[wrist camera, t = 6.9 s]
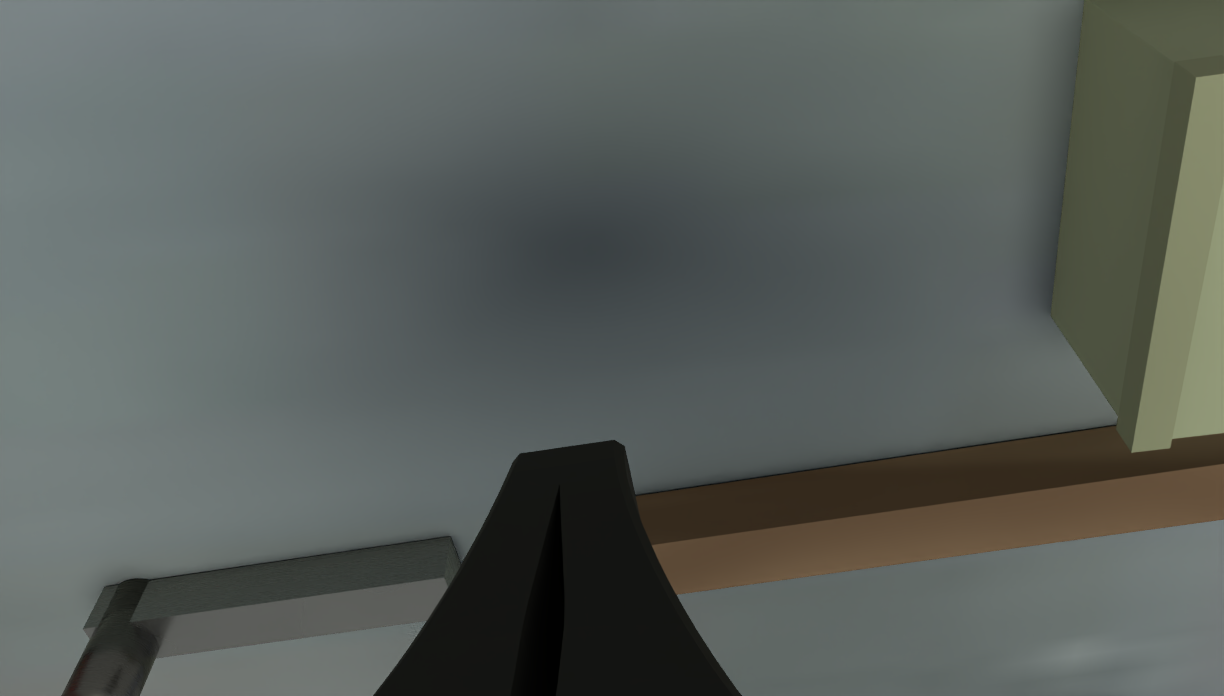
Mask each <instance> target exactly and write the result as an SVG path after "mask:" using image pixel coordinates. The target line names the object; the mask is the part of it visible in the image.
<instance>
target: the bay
mask: <svg viewBox="0 0 1224 696" xmlns="http://www.w3.org/2000/svg"><path fill="white" fill-rule="evenodd" d="M636 500H637V505H638V510H639V514H640V519H641V521H642V524H643V527H644V529H645V531H646V533H647V536H648V538H649V540H650V542H651V545H652V547H653V549H654V552H655V554H656V556H657V558H658V560H659V562H660V564H661V566H662V568H663V570H664V572H665V574H666V577H667V578H668V580H669V582H670V584H671V586H672V588H673V590H674V591H675V593H676V595H677V594H684V593H692V592H699V591H706V590H713V589H721V588H728V587H735V586H743V585H750V584H757V583H764V582H772V581H779V580H786V579H794V578H801V577H808V576H815V575H823V574H830V573H837V572H845V571H852V570H859V569H866V568H874V567H881V566H888V565H895V564H903V563H910V562H917V561H925V560H932V559H939V558H946V557H954V556H961V555H968V554H976V553H983V552H990V551H997V550H1005V549H1012V548H1019V547H1027V546H1034V545H1041V544H1048V543H1056V542H1063V541H1070V540H1077V539H1085V538H1092V537H1099V536H1107V535H1114V534H1121V533H1128V532H1136V531H1143V530H1150V529H1158V528H1165V527H1172V526H1179V525H1187V524H1194V523H1201V522H1209V521H1216V520H1223V519H1224V433H1219V434H1210V435H1202V436H1193V437H1185V438H1176V439H1172V442H1171V447H1170V448H1168V449H1159V450H1151V451H1142V452H1133V453H1131V451H1130V450H1129V448H1128V447H1127V445H1126V444H1125V442H1124V441H1123V439H1122V438H1121V436H1120V435H1119V433H1118V431H1117V430H1116V426H1111V427H1104V428H1098V429H1091V430H1084V431H1077V432H1070V433H1064V434H1057V435H1050V436H1043V437H1036V438H1029V439H1023V440H1016V441H1009V442H1002V443H995V444H988V445H982V446H975V447H968V448H961V449H954V450H947V451H941V452H934V453H927V454H920V455H913V456H906V457H900V458H893V459H886V460H879V461H872V462H865V463H859V464H852V465H845V466H838V467H831V468H824V469H818V470H811V471H804V472H797V473H790V474H784V475H777V476H770V477H763V478H756V479H749V480H743V481H736V482H729V483H722V484H715V485H708V486H702V487H695V488H688V489H681V490H674V491H667V492H661V493H654V494H647V495H640V496H636Z"/></svg>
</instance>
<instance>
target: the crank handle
mask: <svg viewBox="0 0 1224 696" xmlns="http://www.w3.org/2000/svg"><path fill="white" fill-rule="evenodd" d="M460 566H461V563H460V561H459V558H458V555H457V553H456V550H455V547H454V545H453V542H452V539H451V537H444V538H438V539H431V540H424V541H417V542H410V543H403V544H396V545H389V546H383V547H376V548H369V549H362V550H355V551H348V552H341V553H335V554H328V555H321V556H314V557H307V558H300V559H293V560H287V561H280V562H273V563H266V564H259V565H252V566H245V567H239V568H232V569H225V570H218V571H211V572H204V573H197V574H191V575H184V576H177V577H170V578H163V579H156V580H143V579H134V580H128V581H125V582H123V583H121V584H119V585H115V586H108V587H104V589H103V591H102V593H101V595H100V597H99V599H98V601H97V603H96V605H95V606H94V608H93V610H92V612H91V614H90V616H89V618H88V620H87V622H86V624H85V626H84V628H83V630H84V631H85V633H86V634H87V636H88V637H89V638H90V640H89V642H88V644H87V646H86V648H85V650H84V652H83V654H82V656H81V658H80V660H79V662H78V664H77V666H76V668H75V670H74V672H73V674H72V676H71V678H70V680H69V682H68V684H67V686H66V688H65V690H64V692H63V694H62V696H140V694H141V691H142V689H143V687H144V684H145V682H146V680H147V677H148V675H149V673H150V670H151V668H152V666H153V663H154V661H155V659H156V658H162V657H169V656H176V655H184V654H191V653H198V652H205V651H212V650H220V649H227V648H234V647H241V646H249V645H256V644H263V643H270V642H277V641H285V640H292V639H299V638H306V637H313V636H321V635H328V634H335V633H342V632H350V631H357V630H364V629H371V628H378V627H386V626H393V625H400V624H407V623H414V622H422V621H427V620H428V618H429V617H430V615H431V614H432V612H433V610H434V609H435V607H436V606H437V604H438V603H439V601H440V599H441V598H442V596H443V595H444V593H445V592H446V590H447V588H448V587H449V585H450V583H451V582H452V580H453V578H454V577H455V575H456V573H457V571H458V570H459V568H460Z"/></svg>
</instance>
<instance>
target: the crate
mask: <svg viewBox="0 0 1224 696" xmlns="http://www.w3.org/2000/svg"><path fill="white" fill-rule="evenodd" d="M1051 317H1052V319H1053V320H1054V322H1055V323H1056V325H1057V326H1058V328H1059V329H1060V331H1061V332H1062V334H1063V335H1064V337H1065V338H1066V340H1067V341H1068V342H1069V344H1070V345H1071V347H1072V348H1073V350H1074V351H1075V353H1076V354H1077V356H1078V357H1079V359H1080V360H1081V362H1082V363H1083V365H1084V366H1085V368H1086V369H1087V371H1088V372H1089V374H1090V375H1091V377H1092V378H1093V380H1094V381H1095V383H1096V384H1097V386H1098V387H1099V389H1100V390H1101V392H1102V393H1103V395H1104V396H1105V398H1106V399H1107V401H1108V402H1109V404H1110V405H1111V407H1112V408H1113V409H1114V411H1115V412H1116V414H1117V415H1118V420H1117V426H1116V430H1117V431H1118V433H1119V435H1120V436H1121V438H1122V439H1123V441H1124V442H1125V444H1126V445H1127V447H1128V448H1129V450H1130V451H1131V453H1133V452H1142V451H1151V450H1159V449H1168V448H1170V447H1171V442H1172V439H1176V438H1185V437H1193V436H1202V435H1210V434H1219V433H1224V0H1084V8H1083V17H1082V27H1081V36H1080V45H1079V55H1078V64H1077V73H1076V83H1075V92H1074V101H1073V111H1072V120H1071V129H1070V139H1069V148H1068V157H1067V167H1066V176H1065V185H1064V195H1063V204H1062V213H1061V223H1060V232H1059V241H1058V251H1057V260H1056V269H1055V279H1054V288H1053V297H1052V307H1051Z"/></svg>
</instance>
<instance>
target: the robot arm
mask: <svg viewBox="0 0 1224 696" xmlns="http://www.w3.org/2000/svg"><path fill="white" fill-rule="evenodd" d="M373 696H742V695H741V694H740V693H739V691H738V690H737V689H736V688H735V686H734V685H733V683H732V682H731V680H730V679H729V678H728V676H727V675H726V673H725V672H724V670H723V669H722V668H721V666H720V665H719V663H718V662H717V660H716V659H715V658H714V656H713V655H712V653H711V651H710V650H709V648H708V647H707V645H706V644H705V642H704V641H703V639H702V638H701V636H700V634H699V633H698V631H697V630H696V628H695V626H694V625H693V623H692V621H691V620H690V618H689V616H688V615H687V613H686V611H685V609H684V608H683V606H682V604H681V602H680V601H679V599H678V597H677V595H676V593H675V591H674V590H673V588H672V586H671V584H670V582H669V580H668V578H667V577H666V574H665V572H664V570H663V568H662V566H661V564H660V562H659V560H658V558H657V556H656V554H655V552H654V549H653V547H652V545H651V542H650V540H649V538H648V536H647V533H646V531H645V529H644V527H643V524H642V521H641V519H640V514H639V510H638V505H637V500H636V496H635V491H634V487H633V482H632V478H631V473H630V469H629V464H628V459H627V455H626V450H625V446H624V445H622V444H620V443H619V442H617V441H615V440H610V441H603V442H596V443H590V444H583V445H576V446H569V447H562V448H555V449H548V450H541V451H534V452H527V453H521V454H519V455H518V456H517V458H516V459H515V460H514V461H513V463H512V465H511V468H510V470H509V472H508V474H507V477H506V479H505V481H504V483H503V485H502V487H501V490H500V492H499V494H498V496H497V498H496V500H495V502H494V504H493V506H492V508H491V510H490V512H489V514H488V516H487V518H486V520H485V522H484V524H483V526H482V528H481V530H480V532H479V534H478V535H477V537H476V539H475V541H474V543H473V544H472V546H471V548H470V550H469V552H468V553H467V555H466V557H465V559H464V561H463V562H462V564H461V566H460V568H459V570H458V571H457V573H456V575H455V577H454V578H453V580H452V582H451V583H450V585H449V587H448V588H447V590H446V592H445V593H444V595H443V596H442V598H441V599H440V601H439V603H438V604H437V606H436V607H435V609H434V610H433V612H432V614H431V615H430V617H429V618H428V620H427V621H426V623H425V625H424V626H423V628H422V629H421V631H420V632H419V634H418V635H417V637H416V638H415V640H414V641H413V643H412V644H411V645H410V647H409V648H408V650H407V651H406V653H405V654H404V655H403V657H402V658H401V660H400V661H399V662H398V664H397V665H396V666H395V668H394V669H393V670H392V672H391V673H390V674H389V676H388V677H387V678H386V680H385V681H384V682H383V684H382V685H381V686H380V687H379V689H378V690H377V691H376V693H375V694H374V695H373Z"/></svg>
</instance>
